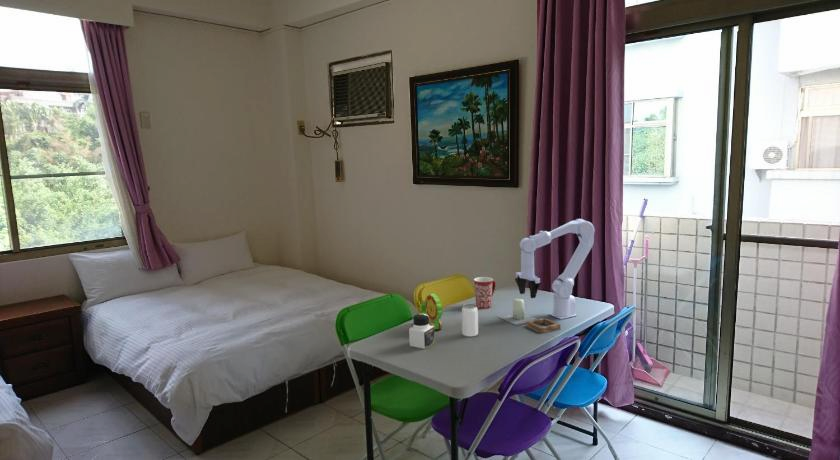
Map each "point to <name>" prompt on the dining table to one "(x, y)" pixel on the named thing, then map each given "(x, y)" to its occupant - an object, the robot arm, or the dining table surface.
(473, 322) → the can
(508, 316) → the mat
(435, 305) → the toy lion
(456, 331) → the dining table surface
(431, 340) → the medicine bottle
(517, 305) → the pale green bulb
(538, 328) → the frame
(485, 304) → the mug
